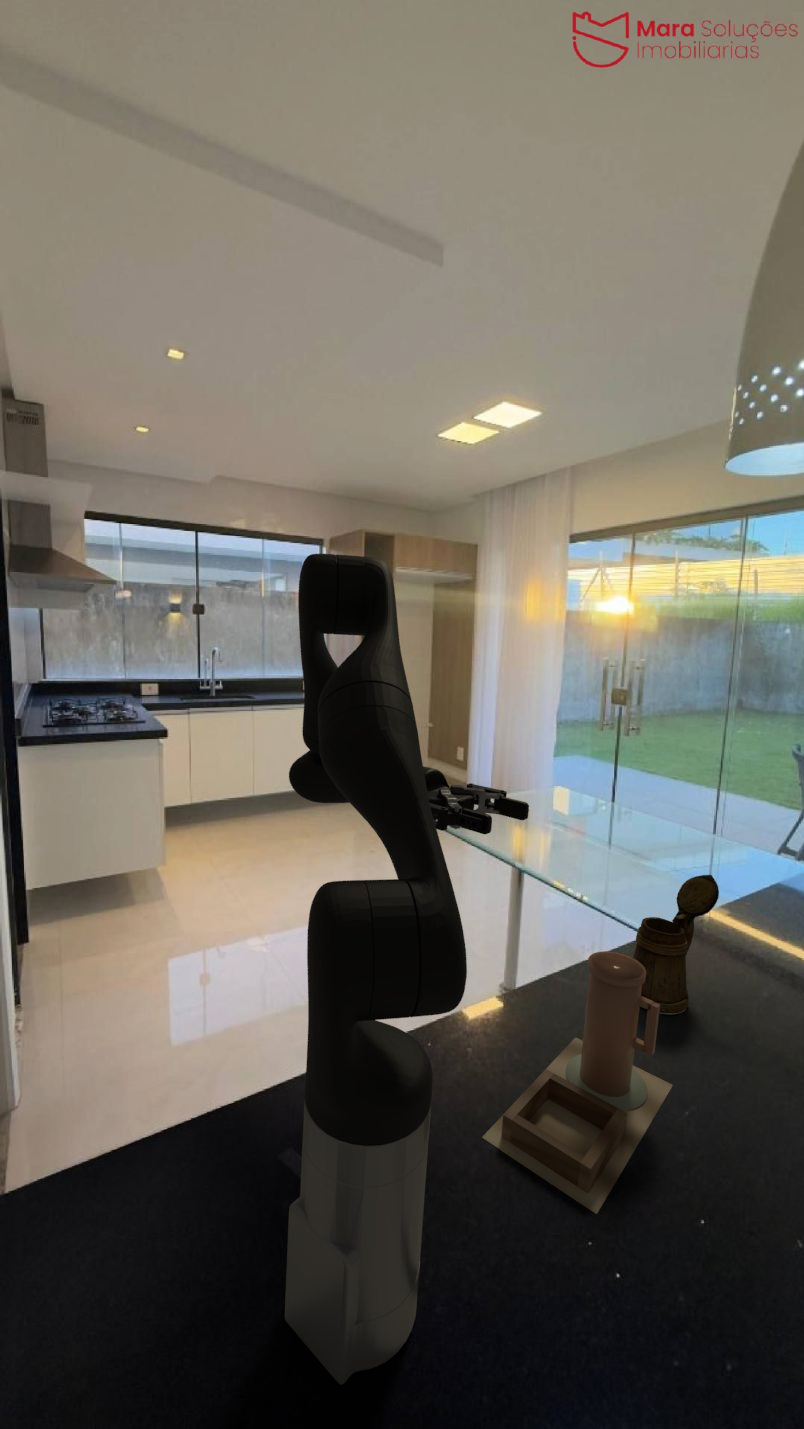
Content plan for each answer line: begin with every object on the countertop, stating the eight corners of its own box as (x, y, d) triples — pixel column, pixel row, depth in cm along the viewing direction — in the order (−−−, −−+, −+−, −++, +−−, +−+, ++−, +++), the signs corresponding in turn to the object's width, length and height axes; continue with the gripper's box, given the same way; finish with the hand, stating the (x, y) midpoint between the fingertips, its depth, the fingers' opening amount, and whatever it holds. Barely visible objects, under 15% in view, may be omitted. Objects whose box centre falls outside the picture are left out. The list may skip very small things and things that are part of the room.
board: (595, 1223, 54) (599, 1188, 54) (481, 1146, 62) (483, 1114, 61) (672, 1092, 71) (675, 1065, 70) (574, 1044, 78) (577, 1019, 78)
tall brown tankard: (637, 1116, 65) (652, 994, 64) (567, 1079, 70) (579, 964, 69) (656, 1086, 70) (670, 972, 68) (590, 1053, 75) (601, 945, 73)
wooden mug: (724, 1002, 90) (739, 886, 88) (656, 1021, 84) (671, 897, 82) (674, 971, 98) (687, 864, 96) (610, 987, 92) (622, 873, 90)
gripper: (370, 770, 77) (479, 797, 67) (438, 757, 88) (540, 779, 77) (367, 827, 78) (474, 863, 67) (435, 808, 89) (535, 836, 78)
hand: (509, 818), depth 72 cm, fingers open, 8 cm apart
